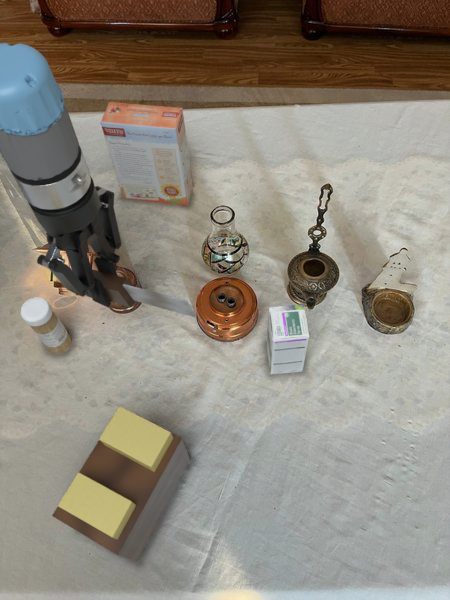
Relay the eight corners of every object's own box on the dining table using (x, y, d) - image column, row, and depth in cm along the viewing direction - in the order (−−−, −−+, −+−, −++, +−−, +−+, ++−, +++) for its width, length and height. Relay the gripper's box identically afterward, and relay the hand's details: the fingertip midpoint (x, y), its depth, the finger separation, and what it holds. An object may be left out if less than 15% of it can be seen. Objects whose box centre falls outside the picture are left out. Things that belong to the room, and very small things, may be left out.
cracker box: (194, 186, 111) (184, 106, 93) (188, 208, 108) (176, 129, 90) (130, 179, 113) (108, 98, 95) (123, 200, 110) (98, 122, 92)
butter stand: (81, 528, 79) (51, 515, 67) (137, 433, 86) (119, 406, 73) (138, 562, 76) (117, 555, 64) (191, 461, 83) (181, 438, 71)
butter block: (104, 444, 71) (98, 439, 68) (123, 412, 73) (119, 405, 70) (154, 472, 69) (151, 467, 66) (173, 438, 71) (170, 432, 68)
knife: (82, 293, 80) (68, 277, 77) (91, 281, 81) (78, 265, 78) (192, 325, 70) (181, 308, 67) (201, 311, 71) (190, 293, 68)
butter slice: (64, 509, 67) (57, 505, 64) (84, 476, 69) (78, 471, 66) (117, 539, 65) (112, 537, 62) (136, 505, 67) (132, 501, 64)
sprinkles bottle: (60, 328, 96) (34, 290, 84) (78, 341, 94) (54, 304, 82) (42, 347, 94) (13, 311, 82) (60, 360, 92) (33, 326, 81)
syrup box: (303, 373, 90) (312, 336, 77) (268, 376, 90) (272, 340, 77) (298, 342, 93) (306, 302, 80) (264, 345, 92) (267, 306, 80)
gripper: (43, 250, 54) (99, 346, 74) (124, 151, 61) (155, 264, 81) (-13, 225, 56) (57, 325, 76) (71, 132, 62) (115, 247, 83)
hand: (107, 293), depth 79 cm, fingers closed on knife, 2 cm apart
